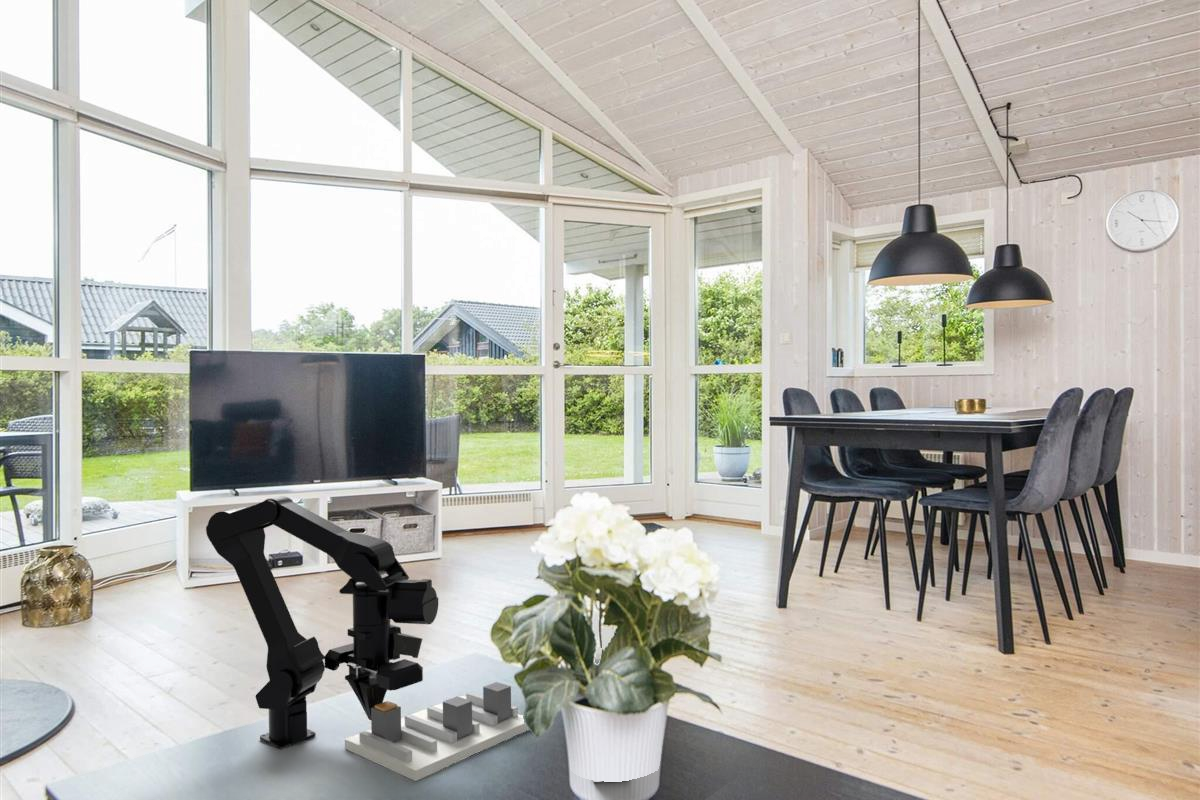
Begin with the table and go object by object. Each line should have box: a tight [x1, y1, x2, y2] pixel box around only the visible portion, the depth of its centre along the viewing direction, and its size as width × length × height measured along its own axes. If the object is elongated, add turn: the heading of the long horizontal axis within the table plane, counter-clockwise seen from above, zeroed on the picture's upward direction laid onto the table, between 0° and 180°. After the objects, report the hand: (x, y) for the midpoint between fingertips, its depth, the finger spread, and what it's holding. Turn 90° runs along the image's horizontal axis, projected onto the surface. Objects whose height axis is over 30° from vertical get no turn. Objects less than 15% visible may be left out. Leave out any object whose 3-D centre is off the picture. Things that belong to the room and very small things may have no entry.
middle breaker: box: [442, 696, 472, 739], centre depth 128 cm, size 4×3×5 cm
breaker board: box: [344, 691, 530, 782], centre depth 131 cm, size 18×24×3 cm
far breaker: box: [482, 681, 512, 722], centre depth 135 cm, size 4×3×5 cm
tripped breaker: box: [370, 700, 402, 742], centre depth 126 cm, size 4×3×5 cm
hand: (373, 719), depth 129 cm, fingers closed
